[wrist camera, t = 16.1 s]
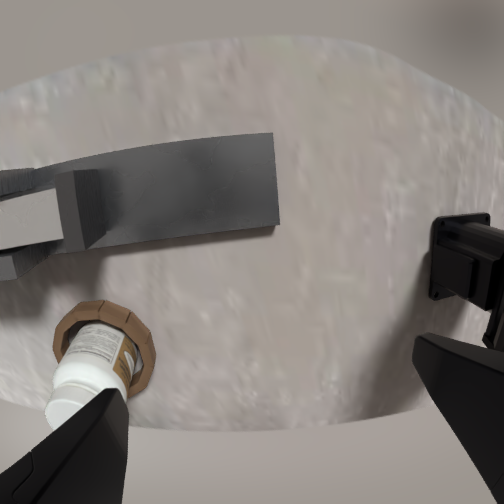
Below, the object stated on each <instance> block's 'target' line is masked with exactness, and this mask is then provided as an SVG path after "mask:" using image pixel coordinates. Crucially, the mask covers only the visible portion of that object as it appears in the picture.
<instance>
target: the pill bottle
mask: <svg viewBox="0 0 504 504" xmlns="http://www.w3.org/2000/svg"><path fill="white" fill-rule="evenodd" d="M136 360H137V348H136V344H135V342H134V341H133V340H132V339H131V338H130V337H129V336H128V335H127V334H126V333H125V331H124V330H123V329H122V328H119V327H117V326H114V325H112V324H109V323H107V322H105V321H102V320H96V321H92V322H89V323H87V324H85V325H84V326H83V327H82V328H81V329H80V330H79V332H78V333H77V335H76V337H75V338H74V340H73V341H72V343H71V345H70V346H69V348H68V350H67V351H66V353H65V355H64V356H63V358H62V360H61V361H60V363H59V365H58V366H57V368H56V370H55V372H54V375H53V390H54V391H53V392H52V394H51V397H50V399H49V401H48V403H47V405H46V408H45V416H46V419H47V421H48V423H49V425H50V426H51V427H52V429H53V430H54V431H55V430H56V429H57V428H58V427H59V426H61V425H62V424H63V423H64V422H65V421H67V420H68V419H69V418H70V417H71V416H73V415H74V414H75V413H76V412H77V411H78V410H80V409H81V408H82V407H83V406H84V405H86V404H87V403H88V402H89V401H90V400H92V399H93V398H94V397H95V396H96V395H97V394H99V393H100V392H101V391H102V390H103V389H105V388H118V389H119V390H120V392H121V394H122V396H123V399H124V401H125V403H126V400H127V396H128V391H129V387H130V383H131V379H132V375H133V372H134V368H135V364H136Z"/></svg>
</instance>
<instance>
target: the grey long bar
mask: <svg viewBox="0 0 504 504" xmlns="http://www.w3.org/2000/svg"><path fill="white" fill-rule="evenodd" d="M54 180H55V188H54V189H50V190H45V191H41V192H37V193H33V194H28V195H24V196H20V197H16V198H13V199H9V200H5V201H1V202H0V250H1V249H6V248H12V247H17V246H23V245H28V244H34V243H40V242H45V241H51V240H57V239H63V238H64V243H65V248H66V252H67V253H72V252H79V251H85V250H87V249H88V248H89V247H90V246H92V245H93V244H94V243H95V242H97V241H98V240H99V239H101V238H102V237H103V236H104V235H106V234H107V233H106V227H105V221H104V215H103V208H102V201H101V194H100V187H99V178H98V170H97V169H87V170H73V171H68V172H64V173H60V174H55V175H54Z"/></svg>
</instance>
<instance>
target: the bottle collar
mask: <svg viewBox="0 0 504 504" xmlns="http://www.w3.org/2000/svg"><path fill="white" fill-rule="evenodd" d="M94 319H100V320H102V321H105V322H107V323H109V324H112V325H114V326H117V327H119V328H122V329H123V330H124V331H125V333H126V334H127V335H128V336H129V337H130V338H131V339H132V340H133V341H134V342H135V343H136V344H137V345H138V346H139V350H140V353H141V357H142V360H143V363H144V364H143V366H142V369H141V370H140V371H139V372H137V373H135V374H134V375H132V379H131V383H130V387H129V391H128V396H127V398H130V397H131V396H133V395H135V394H136V393H138V392H140V391H141V390H143V389H144V388H146V387H147V384H148V382H149V379H150V376H151V374H152V371H153V368H154V363H155V358H156V352H155V348H154V344H153V340H152V336H151V332H149V331H150V330H149V329H148V328H147V327H146V326H145V325H144V324H143V323H142V322H141V321H140V320H139V318H138V317H137V316H136V315H135V314H134V313H133V312H130V310H129V309H126V308H124V307H121V306H119V305H116V304H114V303H112V302H109V301H107V300H106V301H104V300H98V301H88V302H81V303H79V304H78V305H77V306H75V307H74V308H73V309H72V310H71V311H70V312H69V313H67V314H66V315H65V316H64V317H63V319H62V320H61V321H60V322H59V324H58V325H57V327H56V329H55V335H54V341H53V352H54V354H55V357H56V359H57V362H58V364H59V363H60V361H61V360H62V358H63V356H64V355H65V353H66V351H67V350H68V348H69V346H70V345H69V342H68V335H69V330H70V327H71V326H72V325H73V324H74V323H76V322H77V321H82V320H94Z"/></svg>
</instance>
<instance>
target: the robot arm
mask: <svg viewBox="0 0 504 504" xmlns="http://www.w3.org/2000/svg"><path fill="white" fill-rule="evenodd" d="M440 223H441V226H440ZM435 292H436V293H435ZM434 294H435V295H434ZM454 295H458V296H459V297H461V298H463V299H465V300H468V301H469V302H471V303H473V304H474V305H476V306H478V307H479V308H481V309H483V310H484V311H488V312H490V313H491V315H490V319H489V322H488V326H487V329H486V332H485V333H484V335H483V338H482V341H483V343H484V344H485V345H486V347H487V348H484V347H480V346H477V345H473V344H469V343H465V342H461V341H458V340H454V339H450V338H446V337H443V336H439V335H435V334H432V333H423V334H420V335H418V336H416V338H415V341H414V348H413V354H412V362H413V365H414V367H415V368H416V370H417V372H418V374H419V376H420V378H421V380H422V381H423V383H424V385H425V387H426V389H427V391H428V393H429V395H430V396H431V398H432V400H433V401H434V403H435V404H436V406H437V407H438V409H439V410H440V412H441V413H442V415H443V416H444V418H445V419H446V421H447V422H448V424H449V425H450V427H451V428H452V430H453V432H454V433H455V435H456V436H457V438H458V439H459V441H460V442H461V444H462V446H463V447H464V449H465V450H466V452H467V453H468V455H469V457H470V458H471V460H472V461H473V463H474V465H475V466H476V468H477V470H478V471H479V473H480V475H481V476H482V478H483V480H484V481H485V483H486V484H487V486H488V488H489V490H491V493H492V495H493V497H494V499H495V500H496V502H497V504H504V230H500V229H497V228H494V227H491V226H490V215H489V214H488V213H484V212H483V213H472V214H462V215H451V216H441V217H437V218H436V220H435V223H434V241H433V256H432V268H431V278H430V288H429V298H431V299H432V300H434V301H436V300H440V299H443V298H447V297H450V296H454ZM128 424H129V412H128V408H127V406H126V403H125V401H124V399H123V396H122V394H121V392H120V390H119V389H118V388H105V389H103V390H102V391H101V392H100V393H99V394H97V395H96V396H95V397H94V398H93V399H92V400H90V401H89V402H88V403H87V404H86V405H84V406H83V407H82V408H81V409H80V410H78V411H77V412H76V413H75V414H74V415H73V416H71V417H70V418H69V419H68V420H67V421H65V422H64V423H63V424H62V425H61V426H59V427H58V428H57V429H56V430H55V431H54V432H52V433H51V434H50V435H49V436H47V437H46V438H45V439H44V440H43V441H41V442H40V443H39V444H38V445H37V446H35V447H34V448H33V449H32V450H31V452H28V453H27V454H26V455H25V456H23V457H22V458H21V459H20V460H18V461H17V462H16V463H15V464H13V465H12V466H11V467H9V468H8V469H7V470H5V471H4V472H2V473H1V474H0V504H122V495H123V488H124V480H125V472H126V465H127V455H128Z"/></svg>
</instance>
